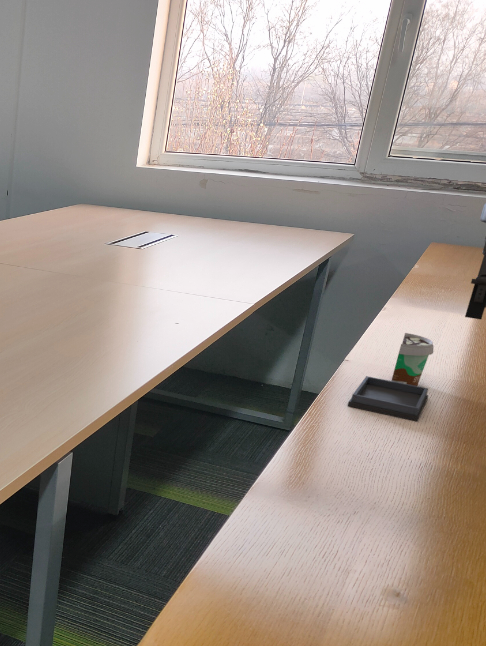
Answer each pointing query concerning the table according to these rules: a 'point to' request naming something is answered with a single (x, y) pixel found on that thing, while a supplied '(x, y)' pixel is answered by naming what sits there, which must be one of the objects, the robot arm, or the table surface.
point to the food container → (412, 359)
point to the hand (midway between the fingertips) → (475, 312)
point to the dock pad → (390, 398)
